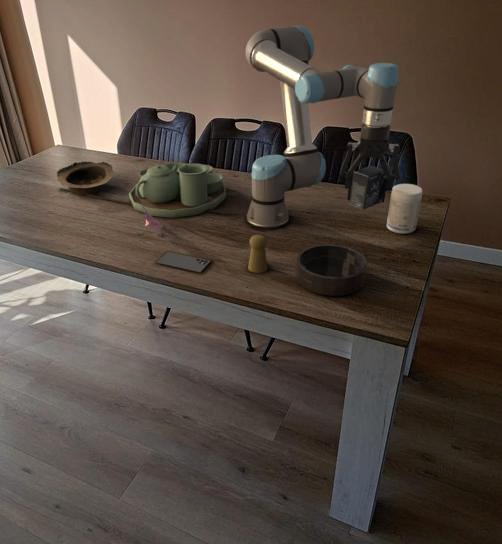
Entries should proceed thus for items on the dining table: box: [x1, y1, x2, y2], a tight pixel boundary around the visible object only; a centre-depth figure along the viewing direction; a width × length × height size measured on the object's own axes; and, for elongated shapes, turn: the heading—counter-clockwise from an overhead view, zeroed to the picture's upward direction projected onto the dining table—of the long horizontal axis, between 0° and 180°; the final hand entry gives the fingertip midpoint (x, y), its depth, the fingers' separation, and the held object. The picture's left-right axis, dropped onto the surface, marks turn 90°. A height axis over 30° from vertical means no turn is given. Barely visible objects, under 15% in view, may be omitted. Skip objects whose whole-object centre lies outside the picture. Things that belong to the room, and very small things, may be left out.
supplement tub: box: [386, 183, 423, 235], centre depth 170 cm, size 10×10×15 cm
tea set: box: [128, 162, 227, 218], centre depth 204 cm, size 40×40×16 cm
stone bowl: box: [56, 161, 115, 196], centre depth 221 cm, size 25×25×9 cm
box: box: [348, 165, 386, 211], centre depth 148 cm, size 8×6×11 cm
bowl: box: [295, 243, 368, 297], centre depth 148 cm, size 20×20×6 cm
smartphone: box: [156, 251, 211, 273], centre depth 163 cm, size 8×1×16 cm
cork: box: [247, 234, 269, 274], centre depth 155 cm, size 6×6×11 cm
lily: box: [140, 206, 163, 236], centre depth 181 cm, size 12×12×10 cm
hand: (365, 199), depth 150 cm, fingers closed on box, 9 cm apart
